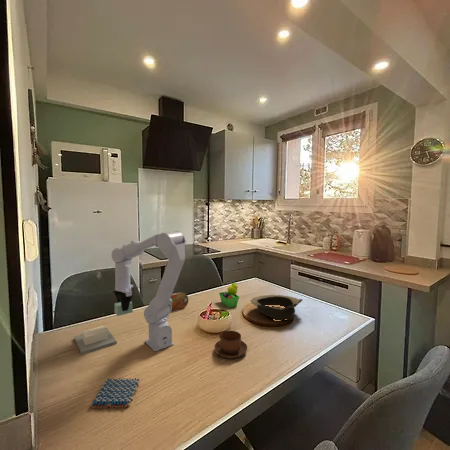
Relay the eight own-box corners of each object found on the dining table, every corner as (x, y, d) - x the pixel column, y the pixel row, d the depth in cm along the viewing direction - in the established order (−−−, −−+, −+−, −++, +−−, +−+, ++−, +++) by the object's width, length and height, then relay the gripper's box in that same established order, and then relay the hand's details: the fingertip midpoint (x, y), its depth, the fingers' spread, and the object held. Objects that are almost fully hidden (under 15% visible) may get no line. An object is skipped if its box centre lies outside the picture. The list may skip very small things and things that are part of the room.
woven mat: (141, 382, 78) (141, 376, 78) (129, 410, 68) (129, 402, 68) (106, 383, 78) (106, 376, 78) (89, 411, 68) (89, 403, 67)
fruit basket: (218, 301, 145) (218, 281, 144) (232, 299, 149) (232, 279, 148) (227, 308, 135) (227, 287, 134) (241, 306, 139) (242, 285, 138)
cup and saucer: (208, 355, 93) (208, 338, 92) (224, 340, 103) (224, 325, 103) (238, 365, 87) (239, 347, 87) (252, 348, 98) (252, 332, 97)
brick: (132, 312, 108) (132, 302, 108) (117, 316, 104) (117, 306, 104) (129, 309, 111) (129, 300, 111) (114, 312, 107) (114, 303, 107)
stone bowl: (293, 330, 112) (292, 308, 111) (242, 320, 125) (240, 301, 124) (307, 310, 133) (306, 292, 132) (262, 303, 146) (261, 287, 145)
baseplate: (116, 343, 100) (116, 333, 99) (81, 354, 92) (81, 343, 92) (106, 330, 111) (106, 320, 110) (74, 338, 103) (74, 329, 103)
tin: (161, 314, 127) (161, 297, 127) (158, 312, 130) (158, 295, 129) (188, 307, 136) (188, 292, 135) (186, 305, 138) (186, 290, 138)
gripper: (139, 278, 103) (139, 311, 104) (126, 271, 115) (127, 301, 116) (120, 281, 99) (121, 316, 100) (110, 273, 110) (110, 305, 111)
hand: (123, 308), depth 108 cm, fingers closed on brick, 4 cm apart
